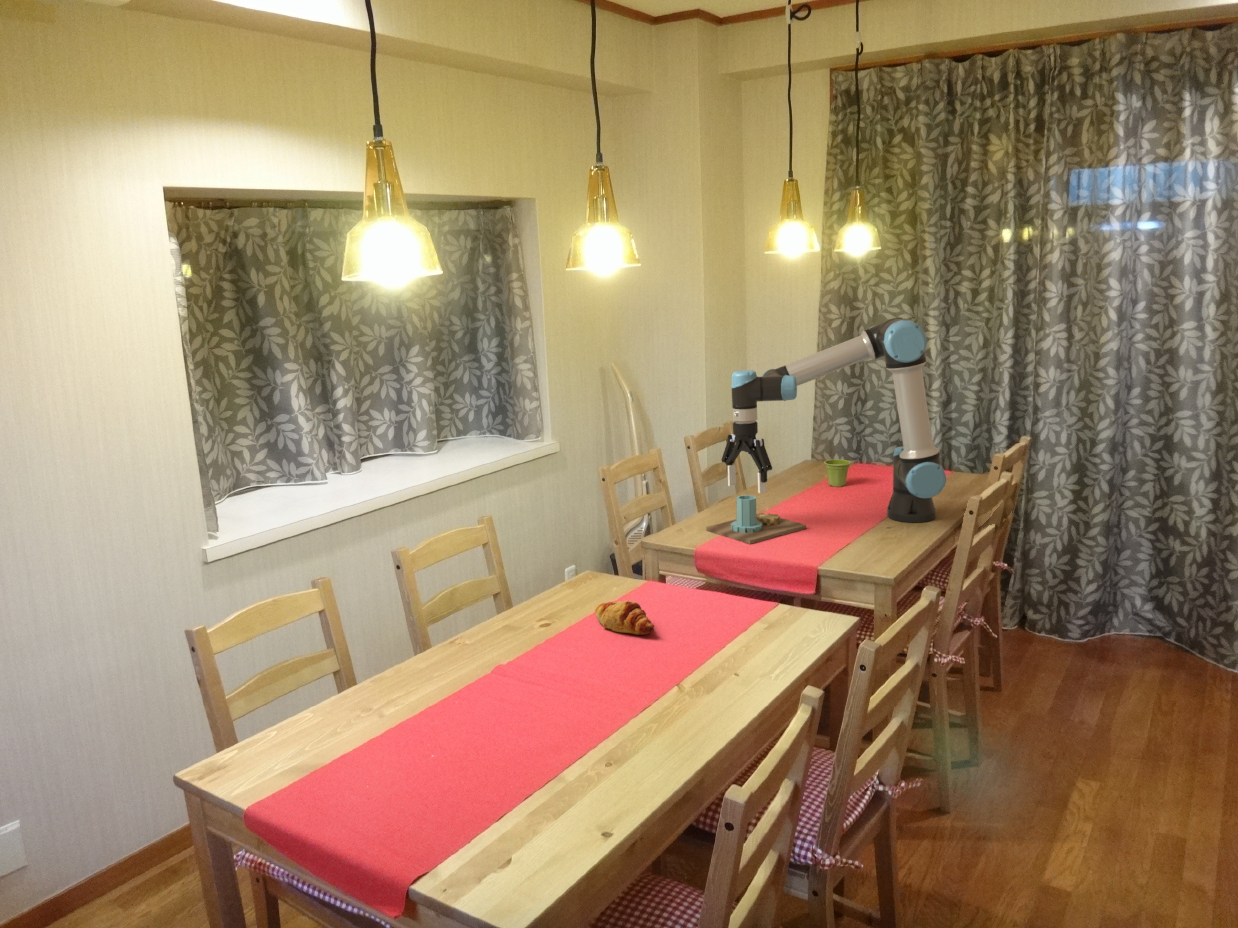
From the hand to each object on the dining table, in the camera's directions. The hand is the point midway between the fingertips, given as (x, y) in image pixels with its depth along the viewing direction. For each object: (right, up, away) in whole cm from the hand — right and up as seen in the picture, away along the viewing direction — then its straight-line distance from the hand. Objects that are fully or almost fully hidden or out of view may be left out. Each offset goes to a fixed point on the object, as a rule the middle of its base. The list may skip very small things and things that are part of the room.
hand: (746, 488), depth 305 cm
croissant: (-38, -31, -69) cm, 85 cm away
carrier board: (+4, -13, +5) cm, 14 cm away
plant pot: (+41, 0, +57) cm, 70 cm away
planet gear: (0, -12, +3) cm, 13 cm away
